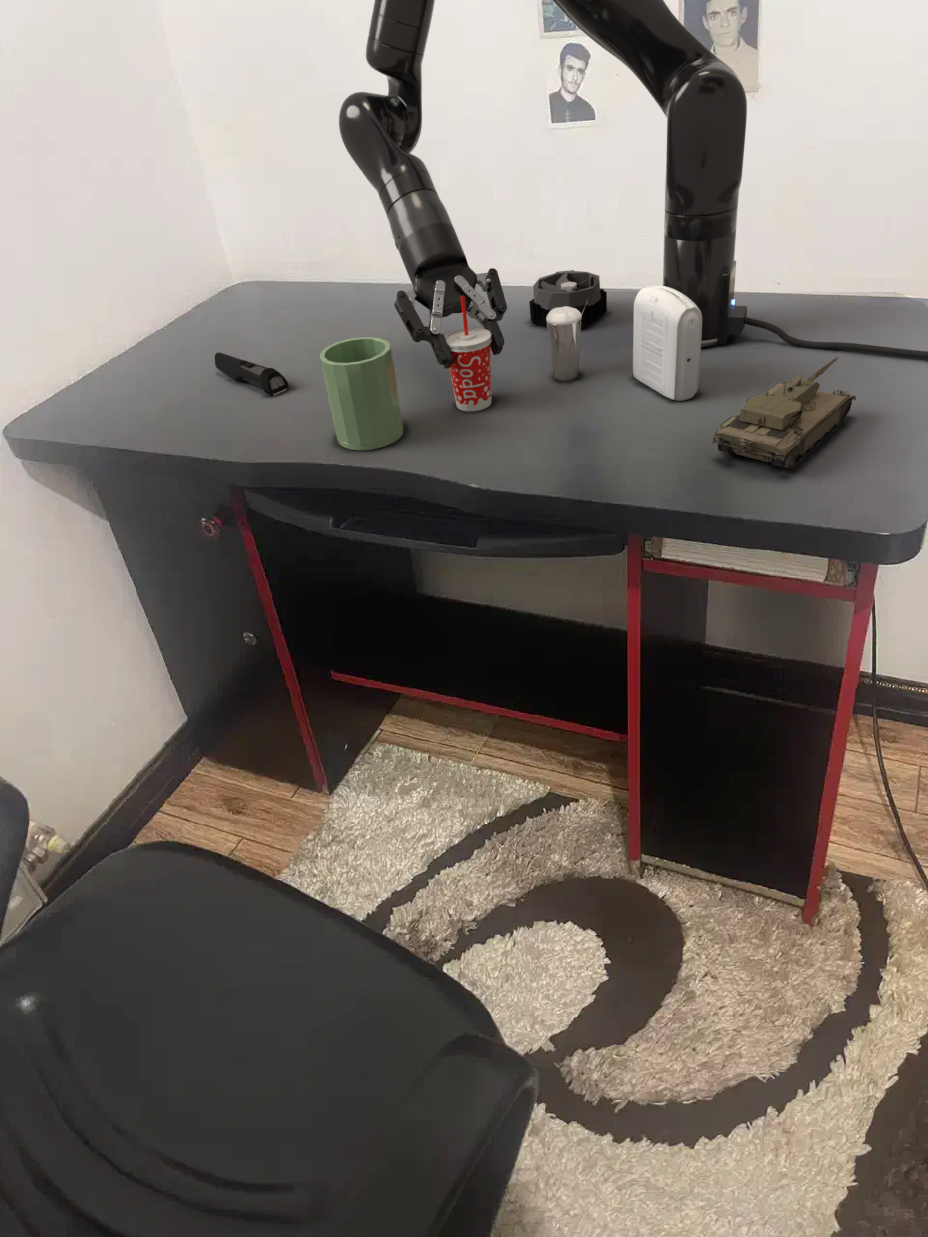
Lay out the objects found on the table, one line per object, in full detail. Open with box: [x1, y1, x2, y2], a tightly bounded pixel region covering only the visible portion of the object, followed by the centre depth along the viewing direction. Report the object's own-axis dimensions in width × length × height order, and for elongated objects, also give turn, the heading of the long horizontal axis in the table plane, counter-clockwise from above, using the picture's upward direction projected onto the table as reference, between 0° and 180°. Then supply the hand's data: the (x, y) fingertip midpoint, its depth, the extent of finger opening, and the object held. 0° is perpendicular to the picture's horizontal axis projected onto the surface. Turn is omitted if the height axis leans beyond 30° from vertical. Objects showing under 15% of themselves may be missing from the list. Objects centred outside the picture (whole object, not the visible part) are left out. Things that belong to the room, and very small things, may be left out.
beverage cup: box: [444, 295, 493, 412], centre depth 115 cm, size 6×6×14 cm
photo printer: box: [632, 284, 702, 402], centre depth 113 cm, size 10×4×12 cm, turn 25°
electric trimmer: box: [214, 352, 289, 397], centre depth 133 cm, size 4×16×3 cm, turn 44°
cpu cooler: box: [528, 269, 608, 329], centre depth 138 cm, size 10×6×10 cm
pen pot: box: [319, 336, 405, 451], centre depth 112 cm, size 8×8×11 cm
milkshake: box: [546, 300, 588, 382], centre depth 120 cm, size 4×5×10 cm
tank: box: [711, 356, 857, 470], centre depth 100 cm, size 9×22×10 cm, turn 138°
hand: (474, 358), depth 114 cm, fingers closed on beverage cup, 6 cm apart
